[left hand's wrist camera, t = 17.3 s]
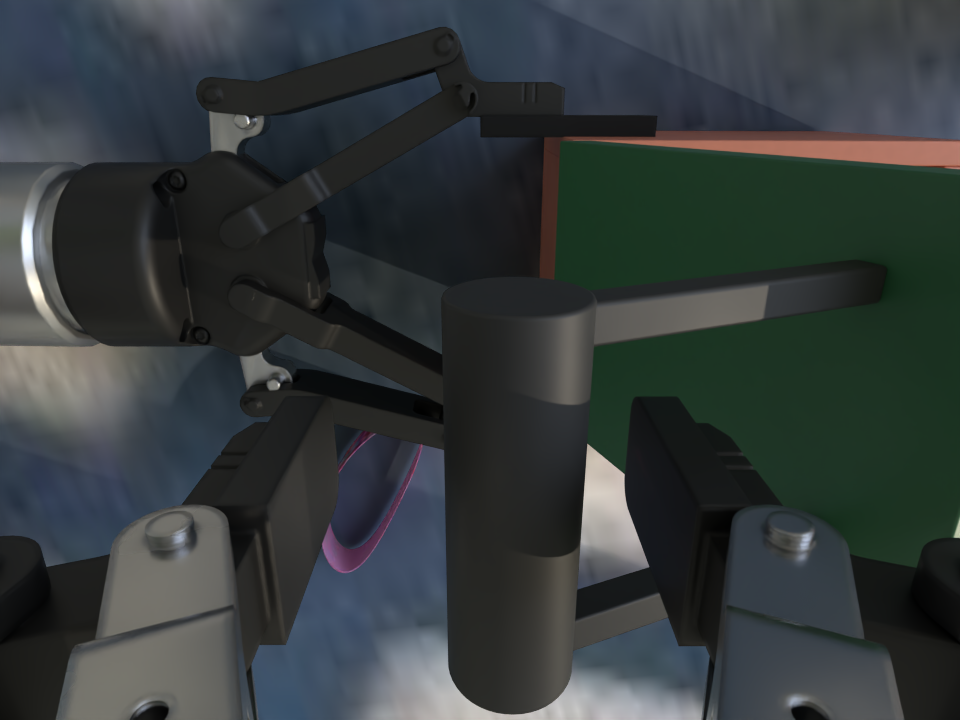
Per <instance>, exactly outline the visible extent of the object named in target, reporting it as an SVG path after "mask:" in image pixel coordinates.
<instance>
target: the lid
mask: <svg viewBox="0 0 960 720" xmlns="http://www.w3.org/2000/svg"><path fill="white" fill-rule="evenodd" d="M441 309H442V361H443V412H444V464H445V515H446V567H447V618H448V665H449V671H450V675H451V678H452V680H453V682H454V684H455V685H456V687H457V688H458V690H459V691H460V692H461V693H462V694H463V695H464V696H465V697H466V698H467V699H468V700H469V701H471V702H472V703H474V704H475V705H477V706H479V707H481V708H483V709H486V710H489V711H492V712H496V713H501V714H524V713H530V712H533V711H536V710H539V709H541V708H544V707H546V706H547V705H549V704H550V703H552V702H553V701H554V700H556V699H557V698H558V697H559V696H560V695H561V693H562V692H563V691H564V689H565V688H566V686H567V685H568V682H569V680H570V676H571V672H572V657H573V651H574V650H577V649H580V648H583V647H585V646H588V645H591V644H594V643H597V642H600V641H603V640H605V639H608V638H611V637H614V636H617V635H620V634H623V633H625V632H628V631H631V630H634V629H637V628H640V627H643V626H645V625H648V624H651V623H654V622H657V621H660V620H662V619H665V618H668V615H667V613H666V610H665V607H664V605H663V602H662V599H661V596H660V594H659V591H658V588H657V586H656V583H655V580H654V578H653V575H652V572H651V569H650V567H649V568H645V569H642V570H639V571H636V572H633V573H629V574H626V575H623V576H620V577H617V578H613V579H610V580H607V581H604V582H601V583H597V584H594V585H591V586H588V587H584V588H581V589H578V590H577V585H578V570H579V555H580V541H581V526H582V512H583V497H584V483H585V468H586V454H587V444H589V445H590V446H591V447H592V448H594V449H595V450H596V451H597V452H598V453H600V454H601V455H602V456H603V457H605V458H606V459H607V460H608V461H609V462H611V463H612V464H613V465H614V466H615V467H617V468H618V469H619V470H620V471H622V472H623V473H624V474H625V466H626V455H627V444H628V433H629V422H630V412H631V405H632V401H633V399H634V397H636V396H677V397H678V398H679V399H680V400H681V402H682V403H683V405H684V406H685V408H686V409H687V411H688V412H689V414H690V415H691V416H692V418H693V419H694V421H695V422H696V423H709V424H711V425H712V426H714V427H715V428H717V429H719V430H720V431H722V432H724V433H725V434H727V435H728V436H730V437H731V438H732V439H733V441H734V442H735V443H736V445H737V446H738V447H739V449H740V450H741V451H742V452H743V456H746V458H747V459H748V460H749V462H750V463H751V464H752V466H753V470H756V471H757V472H758V473H759V475H760V476H761V477H762V479H763V480H764V481H765V483H766V484H767V485H768V486H769V488H770V489H771V490H772V492H773V493H774V494H775V496H776V497H777V498H778V500H779V501H780V502H781V503H782V505H783V506H786V507H791V508H795V509H798V510H801V511H805V512H807V513H810V514H812V515H815V516H817V517H818V518H820V519H822V520H824V521H826V522H827V523H829V524H830V525H832V526H833V527H834V528H835V529H837V530H838V531H839V532H840V533H841V534H842V536H843V537H844V538H845V540H846V542H847V544H848V547H849V553H850V554H853V555H856V556H860V557H864V558H869V559H874V560H879V561H884V562H889V563H894V564H900V565H905V566H910V567H915V568H917V565H918V561H919V558H920V554H921V551H922V549H923V547H924V545H925V544H927V543H928V542H930V541H932V540H935V539H939V538H960V169H951V168H938V167H925V166H912V165H899V164H886V163H873V162H860V161H847V160H835V159H822V158H809V157H796V156H783V155H770V154H757V153H744V152H732V151H719V150H706V149H693V148H680V147H667V146H654V145H641V144H628V143H616V142H603V141H590V140H587V141H561V142H560V160H559V182H558V205H557V228H556V250H555V273H554V280H553V279H546V278H536V277H494V278H484V279H477V280H472V281H467V282H464V283H460V284H458V285H455V286H452V287H450V288H449V289H447V290H446V291H445V292H444V293H443V296H442V298H441Z"/></svg>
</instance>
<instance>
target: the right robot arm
mask: <svg viewBox="0 0 960 720" xmlns="http://www.w3.org/2000/svg"><path fill="white" fill-rule="evenodd" d="M433 72H436V74H437V77H438V80H439V82H440V85H441V88H442V92H440V93H438V94H437V95H435V96H433V97H432V98H430V99H428V100H426V101H425V102H423V103H421V104H420V105H418V106H416V107H415V108H413V109H411V110H410V111H408V112H406V113H405V114H403V115H401V116H400V117H398V118H396V119H395V120H393V121H391V122H390V123H388V124H386V125H385V126H383V127H381V128H380V129H378V130H376V131H375V132H373V133H371V134H370V135H368V136H366V137H365V138H363V139H361V140H360V141H358V142H356V143H355V144H353V145H351V146H350V147H348V148H346V149H345V150H343V151H341V152H340V153H338V154H336V155H335V156H333V157H331V158H330V159H328V160H326V161H325V162H323V163H321V164H319V165H318V166H316V167H314V168H313V169H311V170H309V171H307V172H305V173H303V174H302V175H300V176H298V177H296V178H295V179H293V180H291V181H290V182H286V181H285V180H283V179H282V178H280V177H279V176H277V175H276V174H275V173H273V172H272V171H270V170H269V169H267V168H266V167H265V166H263V165H262V164H260V163H259V162H257V161H256V160H254V159H253V158H252V157H250V156H249V155H247V154H246V153H244V150H245V145H246V143H247V142H248V140H249V139H251V138H252V137H256V136H261V135H263V134H265V133H266V132H267V131H268V130H269V127H270V122H271V117H270V115H286V114H292V113H296V112H300V111H304V110H307V109H311V108H314V107H317V106H321V105H324V104H328V103H331V102H334V101H338V100H341V99H345V98H348V97H351V96H355V95H358V94H362V93H365V92H369V91H372V90H375V89H379V88H382V87H386V86H389V85H392V84H396V83H399V82H403V81H406V80H409V79H413V78H416V77H420V76H423V75H427V74H430V73H433ZM564 92H565V88H563V87H561V86H559V85H556V84H554V83H552V82H484V81H481V80H479V79H477V78H476V77H475V76H474V75H473V74H472V72H471V71H470V69H469V66H468V63H467V60H466V57H465V55H464V52H463V49H462V46H461V43H460V40H459V38H458V36H457V34H456V33H455V32H454V31H453V30H452V29H450V28H447V27H439V28H435V29H432V30H429V31H425V32H422V33H419V34H415V35H412V36H409V37H405V38H402V39H399V40H395V41H392V42H389V43H385V44H382V45H379V46H375V47H372V48H369V49H365V50H362V51H358V52H355V53H352V54H348V55H345V56H342V57H338V58H335V59H332V60H328V61H325V62H322V63H318V64H315V65H312V66H308V67H305V68H302V69H298V70H295V71H292V72H288V73H285V74H282V75H278V76H275V77H272V78H268V79H265V80H262V81H258V82H257V81H247V80H236V79H226V78H215V77H209V78H204V79H203V80H201V81H200V82H199V84H198V86H197V90H196V95H197V99H198V101H199V103H200V104H201V106H202V107H203V108H205V109H206V110H207V111H209V118H210V136H211V152H210V153H208V154H206V155H204V156H203V157H201V158H200V159H198V160H196V161H194V162H186V163H92V164H89V165H87V166H85V167H83V166H81V165H78V164H76V163H73V162H0V346H77V347H82V346H94V345H96V344H99V343H102V344H105V345H108V346H203V345H210V346H215V347H219V348H222V349H224V350H227V351H229V352H231V353H233V354H235V355H238V356H240V361H241V365H242V369H243V374H244V378H245V382H246V387H247V391H246V392H245V393H244V395H243V396H242V397H241V400H240V407H241V409H242V411H243V412H244V413H245V414H247V415H249V416H251V417H263V416H273V414H274V413H275V411H276V410H277V408H278V407H279V405H280V404H281V402H282V401H283V399H284V398H285V397H286V396H329V398H330V400H331V403H332V408H333V418H334V424H338V425H342V426H346V427H350V428H355V429H359V430H363V431H367V432H371V433H376V434H380V435H384V436H388V437H392V438H397V439H401V440H405V441H409V442H413V443H418V444H422V445H426V446H430V447H434V448H439V449H443V450H444V412H443V361H442V354H440V353H438V352H436V351H434V350H432V349H430V348H428V347H426V346H424V345H422V344H420V343H418V342H416V341H414V340H412V339H410V338H408V337H406V336H404V335H402V334H400V333H399V332H397V331H395V330H393V329H391V328H389V327H387V326H385V325H383V324H381V323H379V322H377V321H375V320H373V319H371V318H369V317H367V316H365V315H363V314H361V313H359V312H357V311H355V310H354V309H352V308H351V307H350V306H349V304H348V303H347V302H345V301H344V300H342V299H340V298H338V297H336V296H334V295H332V294H330V293H328V292H327V290H328V289H329V288H330V287H331V285H330V273H329V268H328V265H327V262H326V259H325V256H324V254H323V248H324V243H325V237H326V224H325V216H322V215H321V214H320V212H319V210H318V208H317V206H316V205H317V204H319V203H321V202H322V201H324V200H326V199H327V198H329V197H331V196H333V195H334V194H336V193H338V192H339V191H341V190H343V189H345V188H346V187H348V186H350V185H351V184H353V183H355V182H356V181H358V180H360V179H362V178H363V177H365V176H367V175H368V174H370V173H372V172H374V171H375V170H377V169H379V168H380V167H382V166H384V165H385V164H387V163H389V162H391V161H392V160H394V159H396V158H397V157H399V156H401V155H403V154H404V153H406V152H408V151H409V150H411V149H413V148H414V147H416V146H418V145H420V144H421V143H423V142H425V141H426V140H428V139H430V138H432V137H433V136H435V135H437V134H438V133H440V132H442V131H443V130H445V129H447V128H449V127H450V126H452V125H454V124H455V123H457V122H459V121H461V120H462V119H464V118H466V117H481V137H655V136H656V125H657V116H645V115H564ZM286 334H289V335H291V336H293V337H295V338H297V339H299V340H301V341H303V342H305V343H307V344H309V345H311V346H313V347H316V348H319V349H330V350H332V351H334V352H336V353H338V354H341V355H343V356H345V357H347V358H349V359H351V360H353V361H355V362H357V363H359V364H361V365H363V366H365V367H367V368H369V369H371V370H373V371H375V372H377V373H379V374H381V375H383V376H385V377H387V378H389V379H391V380H393V381H395V382H397V383H399V384H401V385H403V386H405V387H407V388H409V389H411V390H413V391H415V392H417V393H419V394H421V395H423V396H420V395H416V394H412V393H408V392H404V391H400V390H395V389H391V388H387V387H383V386H379V385H375V384H371V383H367V382H363V381H359V380H355V379H351V378H347V377H342V376H338V375H334V374H330V373H326V372H322V371H317V370H310V369H296V367H295V366H294V364H293V362H292V361H290V360H285V359H279V358H277V357H275V356H273V355H272V354H271V352H270V351H269V349H268V347H269V346H271V345H272V344H273V343H275V342H276V341H278V340H279V339H280V338H282V337H283V336H284V335H286ZM424 396H425V397H424Z"/></svg>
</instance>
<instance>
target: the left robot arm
mask: <svg viewBox="0 0 960 720" xmlns="http://www.w3.org/2000/svg"><path fill="white" fill-rule="evenodd" d="M338 486H339V475H338V463H337V451H336V440H335V429H334V418H333V408H332V403H331V400H330V398H329V396H286V397H285V398H284V399H283V401H282V402H281V404H280V405H279V407H278V408H277V410H276V411H275V413H274V414H273V416H272V417H271V419H270V420H269V422H255V423H254V424H252V425H251V426H249V427H247V428H246V429H244V430H243V431H241V432H239V433H238V434H236V435H234V436H233V437H232V439H231V440H230V441H229V443H228V444H227V445H226V447H225V448H224V449H223V451H222V452H221V455H219V456H218V457H217V459H216V460H215V461H214V463H213V464H212V465H211V469H208V470H207V472H206V473H205V474H204V476H203V477H202V478H201V480H200V481H199V482H198V484H197V485H196V486H195V488H194V489H193V490H192V492H191V493H190V494H189V496H188V497H187V498H186V500H185V501H184V502H183V504H182V505H180V506H174V507H169V508H165V509H162V510H159V511H155V512H153V513H150V514H148V515H145V516H143V517H142V518H140V519H138V520H136V521H134V522H133V523H131V524H130V525H128V526H127V527H126V528H125V529H123V530H122V531H121V532H120V533H119V534H118V536H117V537H116V538H115V540H114V542H113V544H112V547H111V553H110V554H109V555H105V556H101V557H96V558H91V559H86V560H80V561H75V562H70V563H65V564H60V565H55V566H50V567H46V564H45V561H44V558H43V554H42V551H41V548H40V546H39V544H38V543H37V542H36V541H34V540H32V539H30V538H27V537H22V536H0V720H259V719H258V711H257V702H256V693H255V684H254V677H253V671H252V665H251V664H252V661H253V659H254V656H255V654H256V652H257V649H258V647H259V645H286V643H287V640H288V637H289V634H290V632H291V629H292V626H293V623H294V621H295V618H296V615H297V612H298V609H299V607H300V604H301V601H302V598H303V596H304V593H305V590H306V587H307V585H308V582H309V579H310V576H311V574H312V571H313V568H314V565H315V563H316V560H317V557H318V554H319V552H320V549H321V546H322V543H323V541H324V538H325V535H326V532H327V530H328V527H329V524H330V521H331V519H332V516H333V513H334V510H335V507H336V503H337V497H338ZM625 496H626V502H627V507H628V510H629V513H630V515H631V518H632V521H633V524H634V526H635V529H636V532H637V534H638V537H639V540H640V542H641V545H642V548H643V551H644V553H645V556H646V559H647V561H648V564H649V567H650V569H651V572H652V575H653V578H654V580H655V583H656V586H657V588H658V591H659V594H660V596H661V599H662V602H663V605H664V607H665V610H666V613H667V615H668V618H669V621H670V623H671V626H672V629H673V632H674V634H675V637H676V640H677V642H678V645H679V646H706V648H707V651H708V653H709V655H710V658H709V665H708V671H707V677H706V684H705V693H704V702H703V711H702V719H701V720H960V538H939V539H935V540H932V541H930V542H928V543H927V544H925V545H924V547H923V549H922V551H921V554H920V558H919V561H918V565H917V568H915V567H910V566H905V565H900V564H894V563H889V562H884V561H879V560H874V559H869V558H864V557H860V556H856V555H853V554H850V553H849V547H848V544H847V542H846V540H845V538H844V537H843V536H842V534H841V533H840V532H839V531H838V530H837V529H835V528H834V527H833V526H832V525H830V524H829V523H827V522H826V521H824V520H822V519H820V518H818V517H817V516H815V515H812V514H810V513H807V512H805V511H801V510H798V509H795V508H791V507H786V506H783V505H782V503H781V502H780V501H779V500H778V498H777V497H776V496H775V494H774V493H773V492H772V490H771V489H770V488H769V486H768V485H767V484H766V483H765V481H764V480H763V479H762V477H761V476H760V475H759V473H758V472H757V471H756V470H753V466H752V464H751V463H750V462H749V460H748V459H747V458H746V456H743V452H742V451H741V450H740V449H739V447H738V446H737V445H736V443H735V442H734V441H733V439H732V438H731V437H730V436H728V435H727V434H725V433H724V432H722V431H720V430H719V429H717V428H715V427H714V426H712V425H711V424H709V423H696V422H695V421H694V419H693V418H692V416H691V415H690V414H689V412H688V411H687V409H686V408H685V406H684V405H683V403H682V402H681V400H680V399H679V398H678V397H677V396H636V397H634V399H633V401H632V405H631V412H630V422H629V433H628V444H627V455H626V466H625Z"/></svg>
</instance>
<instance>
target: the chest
mask: <svg viewBox="0 0 960 720" xmlns="http://www.w3.org/2000/svg"><path fill="white" fill-rule="evenodd" d="M587 140H590V141H603V142H616V143H628V144H641V145H654V146H667V147H680V148H693V149H706V150H719V151H732V152H744V153H757V154H770V155H783V156H796V157H809V158H822V159H835V160H847V161H860V162H873V163H886V164H899V165H912V166H925V167H938V168H951V169H960V140H952V139H937V138H921V137H905V136H890V135H874V134H858V133H843V132H826V131H656V136H655V137H544V163H543V191H542V219H541V247H540V275H539V278H546V279H553V280H554V273H555V250H556V228H557V205H558V182H559V160H560V142H561V141H587Z"/></svg>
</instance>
